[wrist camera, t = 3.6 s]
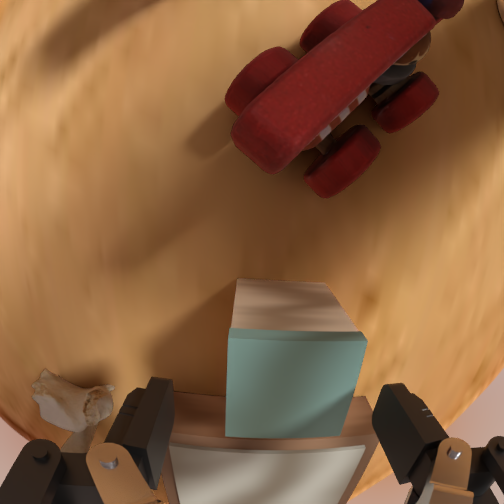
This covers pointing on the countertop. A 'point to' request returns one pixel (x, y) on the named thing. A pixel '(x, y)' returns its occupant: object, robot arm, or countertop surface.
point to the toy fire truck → (337, 88)
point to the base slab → (262, 459)
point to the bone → (72, 408)
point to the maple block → (290, 361)
